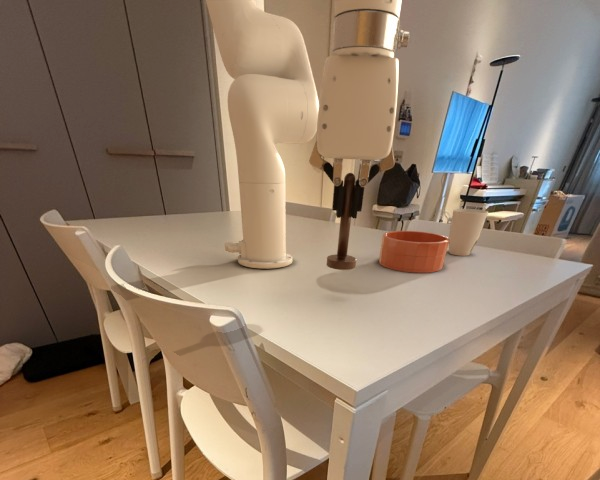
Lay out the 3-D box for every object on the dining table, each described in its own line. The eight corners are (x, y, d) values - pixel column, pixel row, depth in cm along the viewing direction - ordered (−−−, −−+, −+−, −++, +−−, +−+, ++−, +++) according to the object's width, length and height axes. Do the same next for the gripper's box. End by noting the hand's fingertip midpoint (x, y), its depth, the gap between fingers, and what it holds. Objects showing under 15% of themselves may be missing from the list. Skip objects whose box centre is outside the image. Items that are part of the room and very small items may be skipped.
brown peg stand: (326, 269, 54) (334, 173, 46) (326, 261, 57) (332, 171, 50) (356, 270, 54) (369, 174, 46) (353, 262, 57) (365, 172, 50)
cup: (480, 257, 86) (494, 213, 80) (448, 256, 86) (460, 212, 80) (468, 250, 92) (480, 209, 87) (438, 249, 92) (449, 208, 87)
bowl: (384, 271, 73) (389, 242, 70) (374, 256, 85) (378, 230, 81) (450, 273, 73) (459, 243, 69) (431, 257, 85) (438, 231, 81)
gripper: (421, 53, 43) (392, 215, 54) (299, 48, 43) (295, 210, 54) (438, 37, 37) (402, 223, 48) (296, 32, 37) (293, 218, 48)
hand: (346, 215), depth 51 cm, fingers closed on brown peg stand
